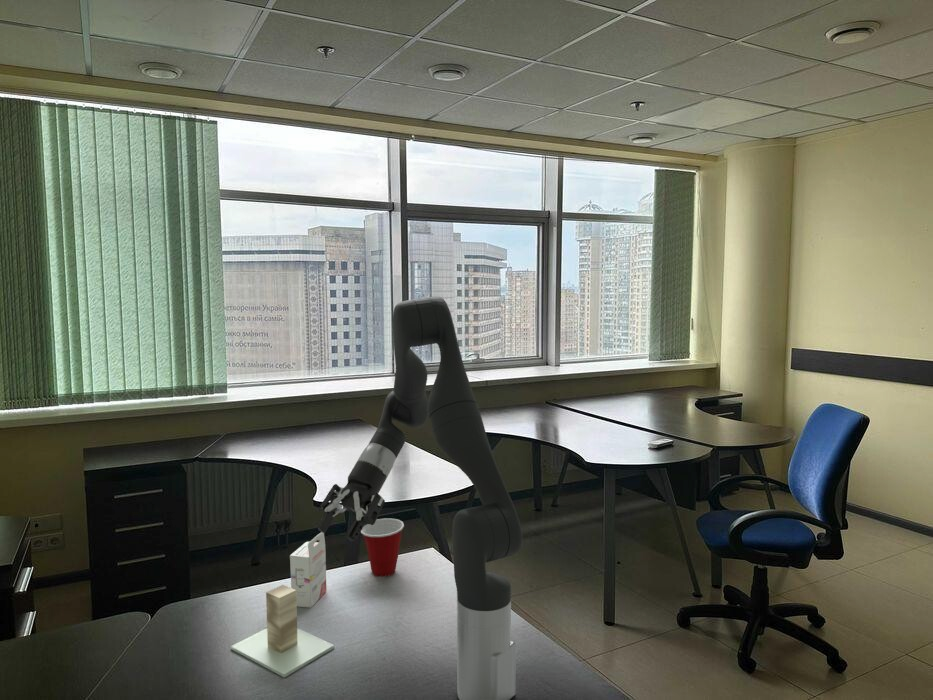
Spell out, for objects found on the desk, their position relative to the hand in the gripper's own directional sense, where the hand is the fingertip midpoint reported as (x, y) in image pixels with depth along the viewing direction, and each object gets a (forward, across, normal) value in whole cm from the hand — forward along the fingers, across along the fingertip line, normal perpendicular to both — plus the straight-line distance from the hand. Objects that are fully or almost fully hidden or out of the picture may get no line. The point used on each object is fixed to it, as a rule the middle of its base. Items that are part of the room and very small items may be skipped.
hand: (335, 535), depth 134 cm
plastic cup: (-4, -10, +31) cm, 32 cm away
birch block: (+22, -2, +4) cm, 23 cm away
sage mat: (+23, -2, +5) cm, 23 cm away
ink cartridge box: (+10, -14, +17) cm, 24 cm away
